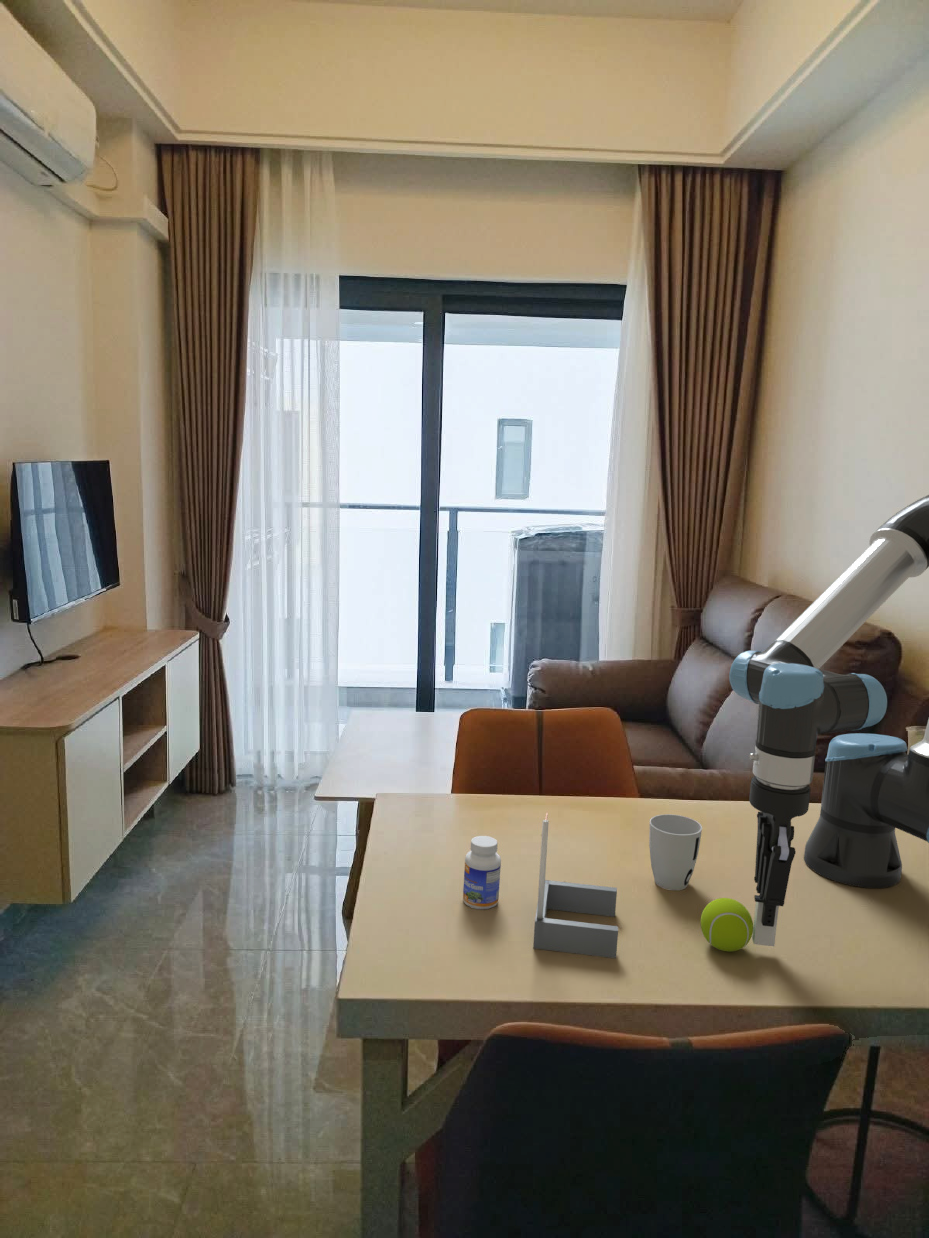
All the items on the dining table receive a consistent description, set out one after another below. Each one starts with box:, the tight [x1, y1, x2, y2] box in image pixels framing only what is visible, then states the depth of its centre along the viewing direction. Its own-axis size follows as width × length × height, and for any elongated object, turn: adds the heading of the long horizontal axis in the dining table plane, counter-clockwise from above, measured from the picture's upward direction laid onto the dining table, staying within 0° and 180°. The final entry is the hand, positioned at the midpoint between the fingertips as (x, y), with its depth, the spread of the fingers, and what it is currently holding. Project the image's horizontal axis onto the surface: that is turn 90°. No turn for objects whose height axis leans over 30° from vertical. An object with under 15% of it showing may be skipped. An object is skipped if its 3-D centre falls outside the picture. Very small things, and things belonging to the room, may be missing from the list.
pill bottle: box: [462, 835, 502, 910], centre depth 130 cm, size 5×5×10 cm
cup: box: [648, 813, 703, 891], centre depth 139 cm, size 8×8×10 cm
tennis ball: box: [700, 897, 754, 952], centre depth 120 cm, size 7×7×7 cm
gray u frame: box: [532, 812, 619, 959], centre depth 123 cm, size 11×12×18 cm
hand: (763, 942), depth 120 cm, fingers closed
